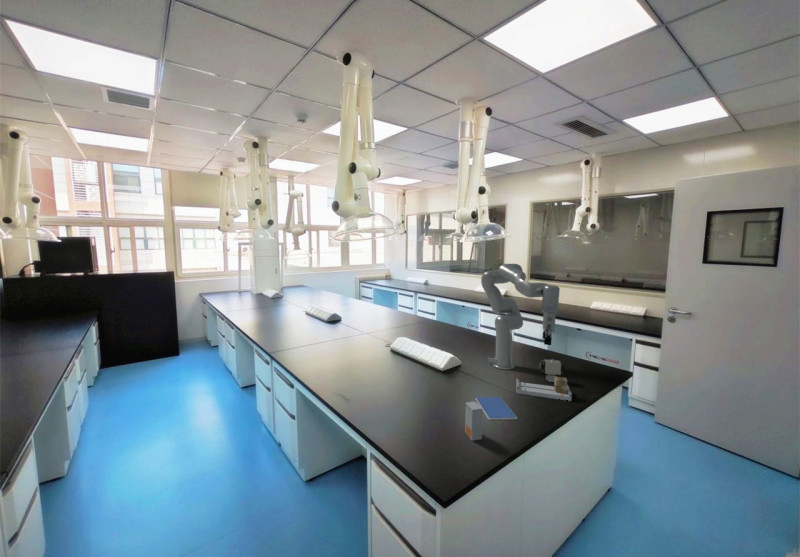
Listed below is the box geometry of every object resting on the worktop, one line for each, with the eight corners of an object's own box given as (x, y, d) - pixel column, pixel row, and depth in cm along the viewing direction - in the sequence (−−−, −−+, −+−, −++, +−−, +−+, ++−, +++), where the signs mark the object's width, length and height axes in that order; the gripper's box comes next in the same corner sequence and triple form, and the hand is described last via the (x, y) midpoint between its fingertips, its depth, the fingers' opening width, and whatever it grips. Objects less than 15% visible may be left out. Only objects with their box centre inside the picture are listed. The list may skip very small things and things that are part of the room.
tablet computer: (518, 420, 131) (518, 417, 131) (488, 421, 130) (488, 418, 130) (500, 399, 150) (500, 396, 150) (474, 399, 149) (474, 397, 149)
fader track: (516, 393, 155) (516, 386, 155) (516, 385, 164) (516, 378, 164) (571, 401, 147) (571, 393, 147) (567, 392, 156) (567, 385, 156)
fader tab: (555, 391, 152) (555, 379, 151) (554, 388, 155) (554, 376, 155) (566, 393, 150) (567, 380, 150) (565, 390, 154) (566, 377, 153)
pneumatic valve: (564, 383, 166) (565, 361, 165) (540, 381, 169) (541, 359, 168) (561, 379, 172) (562, 358, 171) (538, 377, 175) (539, 356, 174)
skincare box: (464, 432, 121) (465, 402, 120) (474, 430, 122) (475, 401, 121) (471, 441, 115) (472, 409, 114) (482, 439, 116) (483, 408, 115)
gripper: (559, 313, 151) (556, 348, 153) (555, 306, 167) (552, 337, 169) (542, 312, 154) (539, 346, 156) (540, 305, 170) (537, 336, 172)
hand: (546, 341), depth 163 cm, fingers open, 9 cm apart
